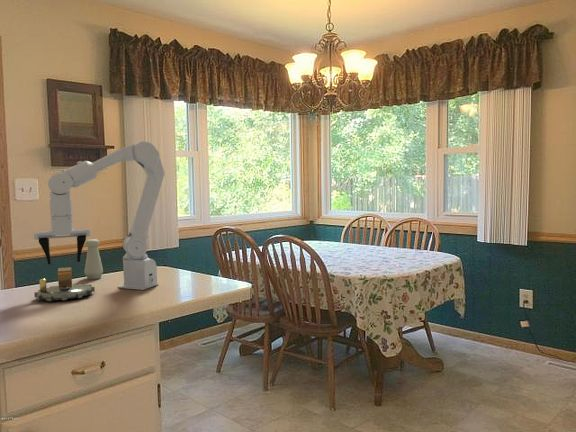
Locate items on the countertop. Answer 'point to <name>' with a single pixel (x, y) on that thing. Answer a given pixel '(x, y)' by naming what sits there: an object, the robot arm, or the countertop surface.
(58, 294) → the sprocket
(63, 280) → the link block
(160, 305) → the countertop surface
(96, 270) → the salt shaker
